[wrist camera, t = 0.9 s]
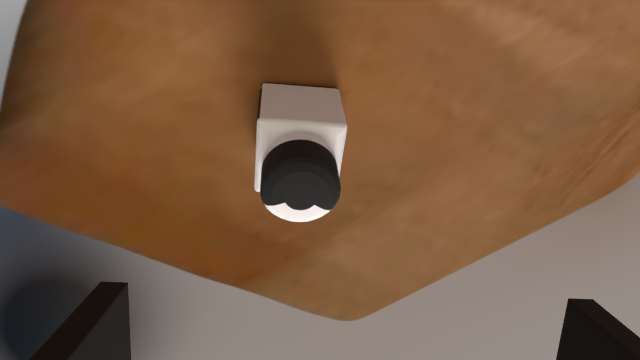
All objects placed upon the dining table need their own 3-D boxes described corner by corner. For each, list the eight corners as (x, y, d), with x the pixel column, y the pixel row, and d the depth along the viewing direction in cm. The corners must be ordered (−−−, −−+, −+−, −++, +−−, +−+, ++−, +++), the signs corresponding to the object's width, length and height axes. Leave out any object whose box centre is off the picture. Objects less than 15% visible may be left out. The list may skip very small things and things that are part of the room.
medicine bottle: (260, 81, 42) (253, 153, 33) (339, 87, 43) (356, 159, 34) (257, 149, 47) (250, 231, 37) (330, 154, 47) (342, 235, 38)
